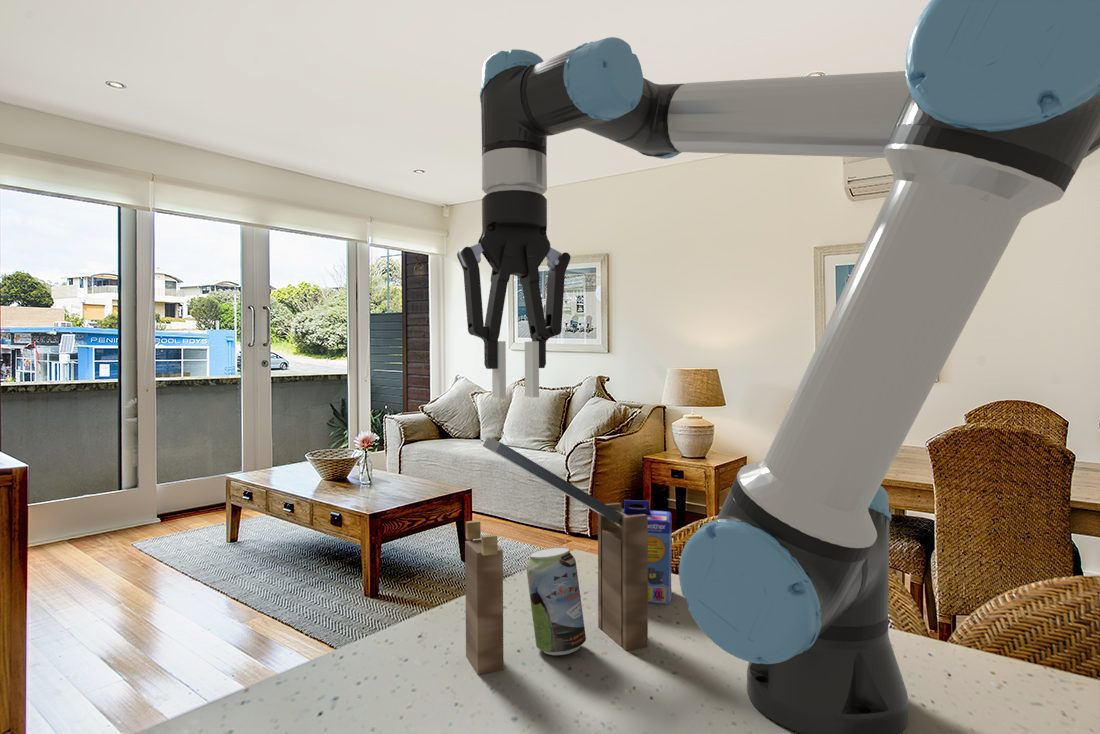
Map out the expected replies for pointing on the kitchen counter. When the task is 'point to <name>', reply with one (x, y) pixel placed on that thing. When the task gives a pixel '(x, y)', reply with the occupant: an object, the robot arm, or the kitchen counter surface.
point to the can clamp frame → (616, 589)
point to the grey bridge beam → (554, 481)
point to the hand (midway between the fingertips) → (515, 396)
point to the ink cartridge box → (656, 550)
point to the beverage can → (555, 601)
